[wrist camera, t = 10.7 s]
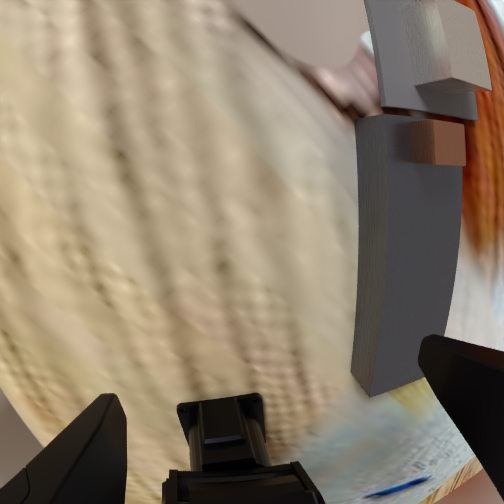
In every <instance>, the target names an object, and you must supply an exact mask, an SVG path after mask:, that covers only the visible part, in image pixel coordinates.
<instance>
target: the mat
mask: <svg viewBox="0 0 504 504" xmlns="http://www.w3.org/2000/svg"><path fill="white" fill-rule="evenodd" d="M413 1H415V0H364V3H365V8H366V12H367V17H368V22H369V27H370V32H371V38H372V43H373V49H374V55H375V62H376V69H377V76H378V84H379V92H380V101H381V107H387V108H397V109H405V110H413V111H420V112H427V113H434V114H440V115H446V116H451V117H457V118H462V119H467V120H472V121H478V115H477V105H476V97H475V92H473V93H465V94H457V95H453V94H449V93H445V92H441V91H437V90H432V89H428V88H423V87H418V86H414V81H413V74H412V67H411V61H410V55H409V49H408V44H407V39H406V34H405V29H404V24H403V20H402V16H401V11H400V9H401V8H402V7H404V6H406V5H408V4H409V3H411V2H413Z"/></svg>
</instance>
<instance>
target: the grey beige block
mask: <svg viewBox="0 0 504 504" xmlns="http://www.w3.org/2000/svg"><path fill="white" fill-rule="evenodd" d="M400 11H401V16H402V20H403V24H404V29H405V34H406V39H407V44H408V49H409V55H410V61H411V67H412V74H413V81H414V86H418V87H423V88H428V89H432V90H437V91H441V92H445V93H449V94H453V95H457V94H465V93H473V92H482V91H491V90H492V88H491V81H490V75H489V69H488V64H487V59H486V54H485V49H484V45H483V41H482V37H481V33H480V29H479V25H478V21H477V18H476V15H475V11H473V10H472V9H470V8H468V7H466V6H464V5H462V4H460V3H458V2H456V1H454V0H415V1H413V2H411V3H409V4H408V5H406V6H404V7H402V8H401V9H400Z"/></svg>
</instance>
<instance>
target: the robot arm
mask: <svg viewBox="0 0 504 504" xmlns="http://www.w3.org/2000/svg"><path fill="white" fill-rule="evenodd" d="M417 361H418V365H419V367H420V369H421V371H422V372H423V374H424V376H425V378H426V379H427V381H428V383H429V385H430V386H431V388H432V390H433V392H434V394H435V395H436V397H437V399H438V400H439V402H440V403H441V405H442V406H443V408H444V409H445V411H446V412H447V414H448V415H449V416H450V418H451V419H452V421H453V422H454V424H455V425H456V427H457V428H458V430H459V431H460V433H461V434H462V436H463V437H464V439H465V440H466V442H467V443H468V445H469V446H470V448H471V449H472V451H473V452H474V454H475V455H476V457H477V458H478V460H479V462H480V463H481V465H482V466H483V468H484V469H485V471H486V473H487V474H488V476H489V477H490V479H491V481H492V482H493V484H494V486H495V487H496V488H497V491H498V492H499V494H500V496H501V498H502V499H503V501H504V351H500V350H495V349H491V348H487V347H483V346H479V345H475V344H471V343H467V342H464V341H460V340H456V339H452V338H448V337H444V336H440V335H437V334H431V335H428V336H425V337H424V338H423V339H422V341H421V345H420V349H419V354H418V359H417ZM253 399H256V400H253ZM182 409H185V410H182ZM177 414H178V417H179V420H180V423H181V426H182V428H183V431H184V434H185V437H186V440H187V442H188V445H189V450H190V466H191V471H178V470H169V478H166V481H165V482H163V483H162V504H325V502H324V499H323V497H322V495H321V494H320V492H319V491H318V489H317V488H316V486H315V485H314V483H313V482H312V480H311V479H310V478H309V476H308V475H307V473H306V472H305V470H304V469H303V467H302V466H301V464H300V463H299V461H295V462H290V464H283V465H275V466H272V465H271V462H270V458H269V455H268V452H267V448H266V445H265V443H266V439H265V428H264V418H263V407H262V399H261V396H260V394H258V393H251V394H245V395H239V396H233V397H226V398H219V399H212V400H204V401H196V402H187V403H180V404H178V405H177ZM126 478H127V420H126V415H125V413H124V410H123V408H122V406H121V403H120V401H119V398H118V396H117V395H116V394H114V393H104V394H101V395H99V396H98V397H97V398H96V399H95V400H94V401H93V402H92V403H91V404H90V405H89V406H88V407H87V408H86V409H85V410H84V411H83V412H82V413H81V414H79V415H78V416H77V417H76V418H75V419H74V420H73V421H72V422H71V423H70V424H69V425H68V426H67V427H66V428H65V429H64V430H63V431H62V432H61V433H60V434H58V435H57V436H56V437H55V438H54V439H53V440H52V441H51V442H50V443H49V444H48V445H47V446H46V447H45V448H44V449H43V450H42V451H41V452H40V453H39V454H38V455H37V456H36V457H34V458H33V459H32V460H31V461H30V462H29V463H28V464H27V465H26V468H23V469H22V470H21V471H20V472H19V473H18V474H16V475H15V476H14V477H13V478H12V479H11V480H10V481H9V482H8V483H7V484H5V485H4V486H3V487H2V488H0V504H125V490H126Z"/></svg>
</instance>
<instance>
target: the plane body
mask: <svg viewBox="0 0 504 504" xmlns="http://www.w3.org/2000/svg"><path fill="white" fill-rule="evenodd" d="M354 122H355V135H356V150H357V168H358V198H359V254H358V284H357V303H356V318H355V331H354V343H353V353H352V363H351V373H352V374H353V376H354V377H355V378H356V380H357V381H358V383H359V384H360V385H361V387H362V388H363V389H364V391H365V392H366V393H367V395H368V396H369V398H370V397H373V396H376V395H379V394H382V393H384V392H387V391H390V390H393V389H395V388H398V387H401V386H403V385H406V384H408V383H411V382H414V381H416V380H418V379H421V378H423V377H425V376H424V374H423V372H422V371H421V369H420V367H419V365H418V361H417V359H418V354H419V349H420V345H421V341H422V339H423V338H424V337H425V336H428V335H431V334H437V335H440V336H444V334H445V329H446V325H447V320H448V315H449V310H450V305H451V299H452V293H453V287H454V281H455V274H456V267H457V259H458V250H459V239H460V227H461V210H462V166H466V152H465V133H464V125H463V124H458V123H452V122H446V121H440V120H433V119H426V118H418V117H410V116H400V115H390V114H381V115H376V116H370V117H365V118H360V119H355V120H354Z"/></svg>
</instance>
